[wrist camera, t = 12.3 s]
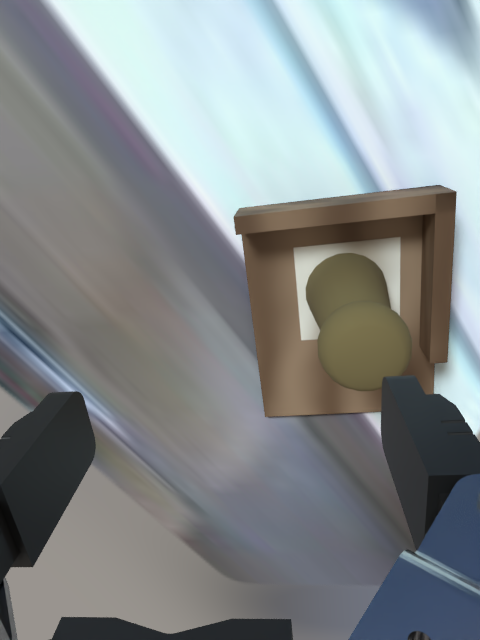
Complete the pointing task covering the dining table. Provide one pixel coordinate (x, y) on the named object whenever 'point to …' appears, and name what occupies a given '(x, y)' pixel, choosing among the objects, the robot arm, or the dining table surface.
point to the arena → (328, 240)
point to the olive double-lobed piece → (356, 323)
